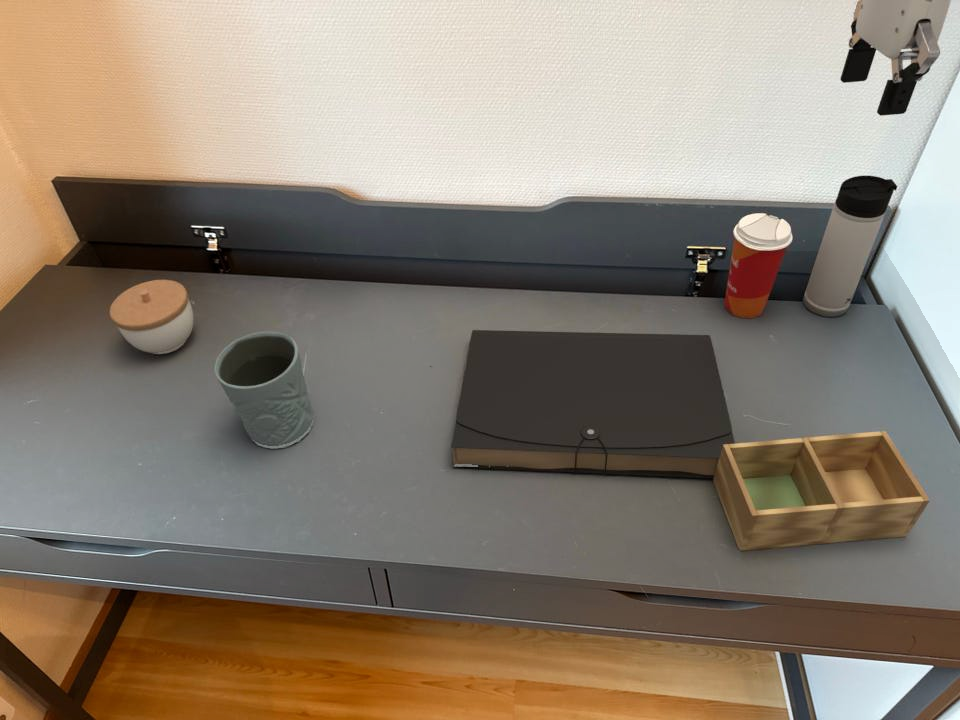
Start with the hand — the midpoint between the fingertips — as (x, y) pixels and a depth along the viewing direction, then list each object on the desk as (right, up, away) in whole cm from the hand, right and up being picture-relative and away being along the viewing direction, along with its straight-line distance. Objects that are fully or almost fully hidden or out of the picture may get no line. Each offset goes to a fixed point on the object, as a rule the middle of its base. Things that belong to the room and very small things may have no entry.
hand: (871, 96), depth 86 cm
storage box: (-11, -49, -7) cm, 50 cm away
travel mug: (+4, -24, +19) cm, 31 cm away
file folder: (-33, -38, +7) cm, 51 cm away
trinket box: (-95, -29, +21) cm, 102 cm away
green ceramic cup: (-74, -41, +7) cm, 85 cm away
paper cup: (-8, -24, +19) cm, 32 cm away
